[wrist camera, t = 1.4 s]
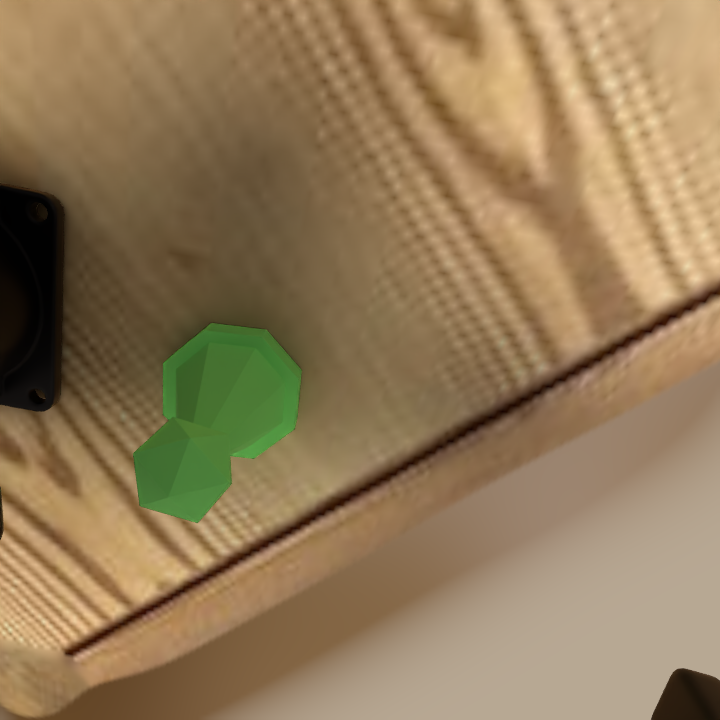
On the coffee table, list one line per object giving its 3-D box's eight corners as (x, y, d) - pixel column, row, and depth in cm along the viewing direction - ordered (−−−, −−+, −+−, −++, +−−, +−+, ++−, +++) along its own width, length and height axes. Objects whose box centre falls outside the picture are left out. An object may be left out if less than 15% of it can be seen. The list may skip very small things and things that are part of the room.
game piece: (267, 470, 18) (222, 610, 12) (145, 410, 17) (37, 530, 12) (329, 362, 17) (311, 464, 11) (200, 294, 16) (109, 364, 10)
